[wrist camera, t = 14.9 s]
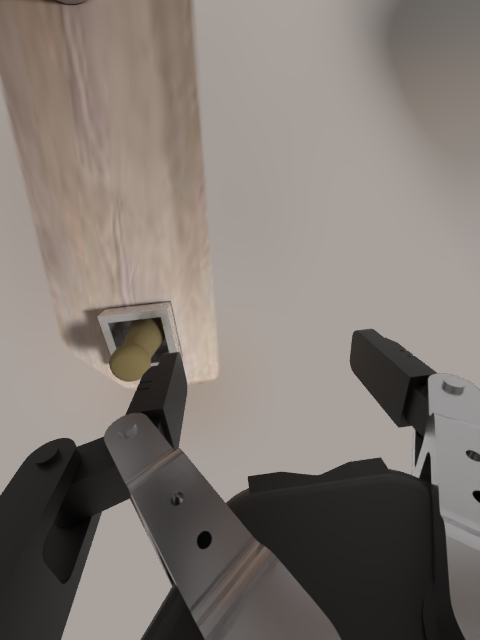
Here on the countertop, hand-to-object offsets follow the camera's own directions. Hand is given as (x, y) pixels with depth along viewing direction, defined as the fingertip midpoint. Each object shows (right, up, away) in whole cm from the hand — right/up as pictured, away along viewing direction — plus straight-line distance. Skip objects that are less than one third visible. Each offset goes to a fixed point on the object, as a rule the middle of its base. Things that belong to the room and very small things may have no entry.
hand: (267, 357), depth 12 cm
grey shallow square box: (-17, 0, +32) cm, 36 cm away
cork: (-17, 0, +31) cm, 36 cm away
